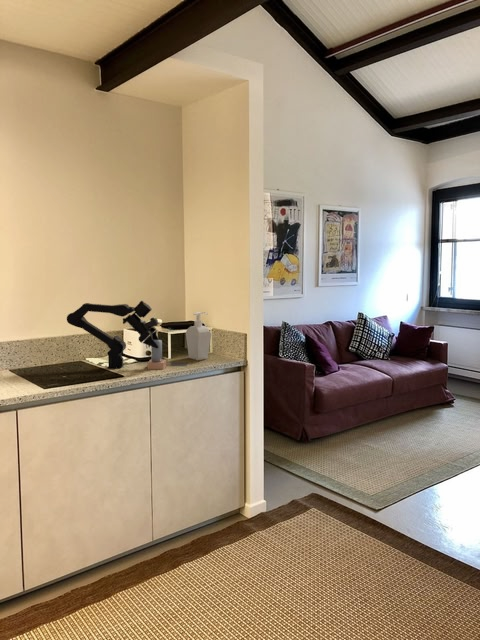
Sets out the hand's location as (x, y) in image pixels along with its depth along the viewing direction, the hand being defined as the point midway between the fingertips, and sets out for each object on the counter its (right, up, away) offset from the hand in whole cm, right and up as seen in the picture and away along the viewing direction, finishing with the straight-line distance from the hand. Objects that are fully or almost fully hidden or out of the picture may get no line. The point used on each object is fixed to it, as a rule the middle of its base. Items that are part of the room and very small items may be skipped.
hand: (159, 346), depth 263 cm
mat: (+9, -10, +9) cm, 16 cm away
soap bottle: (+18, -8, +27) cm, 33 cm away
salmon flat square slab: (-1, -11, +1) cm, 11 cm away
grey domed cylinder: (-1, -8, +1) cm, 8 cm away
